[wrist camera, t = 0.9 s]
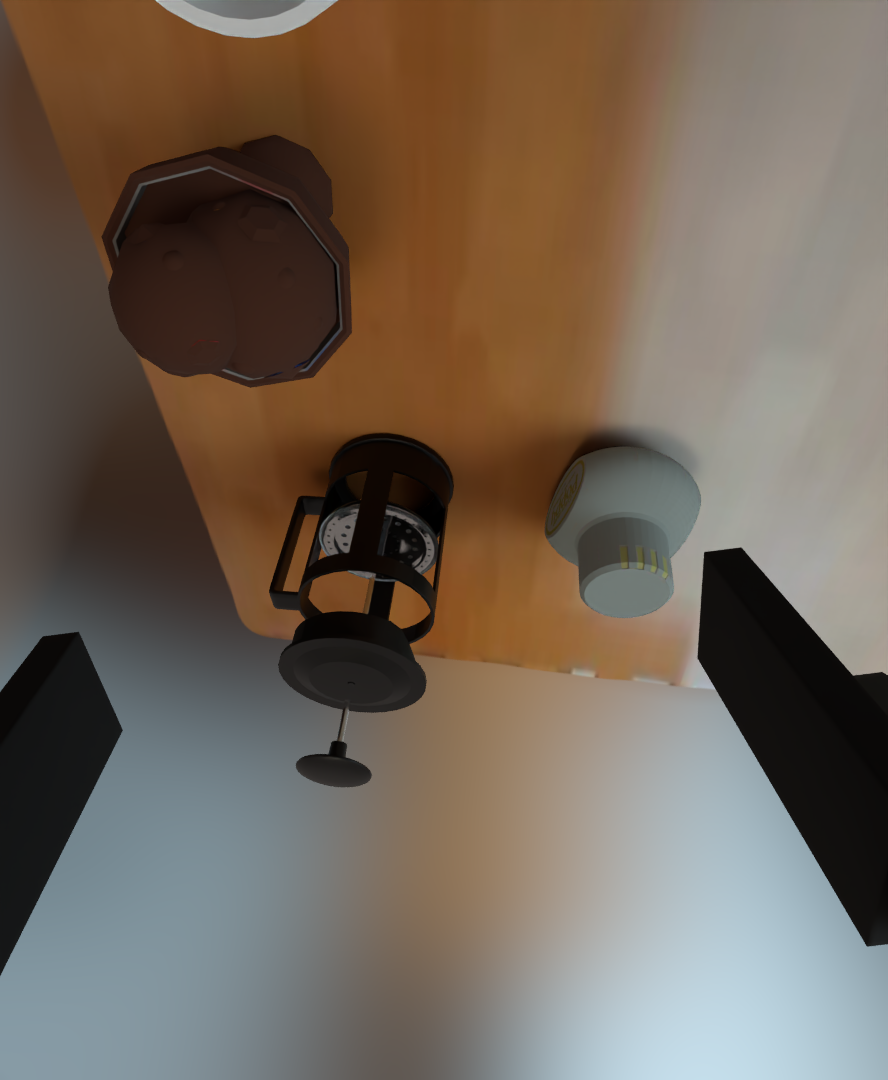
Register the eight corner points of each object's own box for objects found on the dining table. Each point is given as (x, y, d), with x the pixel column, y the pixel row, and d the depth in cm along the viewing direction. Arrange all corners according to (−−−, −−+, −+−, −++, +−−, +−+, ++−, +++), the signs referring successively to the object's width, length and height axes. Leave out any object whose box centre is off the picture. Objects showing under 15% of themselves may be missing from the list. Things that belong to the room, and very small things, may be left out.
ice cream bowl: (204, 278, 42) (102, 451, 32) (156, 59, 33) (-2, 206, 24) (382, 297, 42) (333, 476, 32) (380, 82, 33) (313, 239, 23)
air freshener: (596, 412, 47) (604, 525, 40) (709, 445, 48) (734, 560, 42) (535, 515, 55) (534, 623, 49) (633, 541, 56) (644, 650, 50)
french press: (463, 437, 49) (428, 751, 35) (461, 526, 57) (431, 816, 42) (298, 427, 50) (195, 730, 36) (317, 516, 57) (237, 798, 43)
